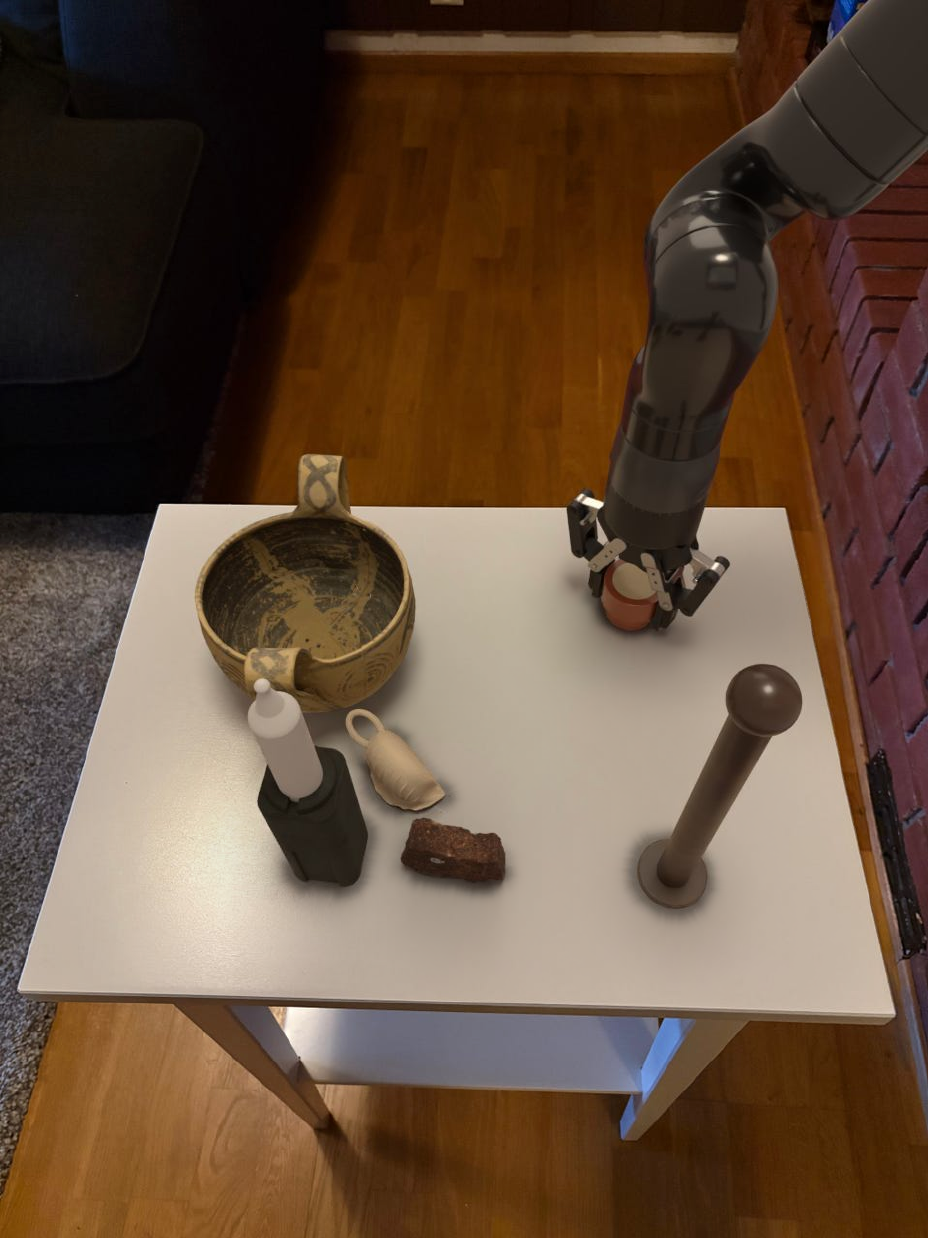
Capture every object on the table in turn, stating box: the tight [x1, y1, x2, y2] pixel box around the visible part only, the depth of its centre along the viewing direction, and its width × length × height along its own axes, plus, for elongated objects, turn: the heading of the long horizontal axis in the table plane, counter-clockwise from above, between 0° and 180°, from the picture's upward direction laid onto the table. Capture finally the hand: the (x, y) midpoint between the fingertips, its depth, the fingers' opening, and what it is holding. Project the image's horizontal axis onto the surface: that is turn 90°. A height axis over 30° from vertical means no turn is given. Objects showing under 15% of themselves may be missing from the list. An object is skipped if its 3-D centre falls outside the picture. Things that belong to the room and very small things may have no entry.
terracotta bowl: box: [600, 558, 659, 631], centre depth 76 cm, size 5×5×5 cm
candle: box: [247, 678, 369, 888], centre depth 56 cm, size 5×5×25 cm
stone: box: [400, 817, 506, 884], centre depth 63 cm, size 8×3×5 cm, turn 80°
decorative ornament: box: [345, 708, 446, 811], centre depth 67 cm, size 4×8×5 cm, turn 37°
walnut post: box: [637, 663, 803, 909], centre depth 53 cm, size 5×5×28 cm
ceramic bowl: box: [194, 453, 416, 713], centre depth 69 cm, size 22×17×15 cm
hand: (629, 606), depth 77 cm, fingers closed on terracotta bowl, 5 cm apart
